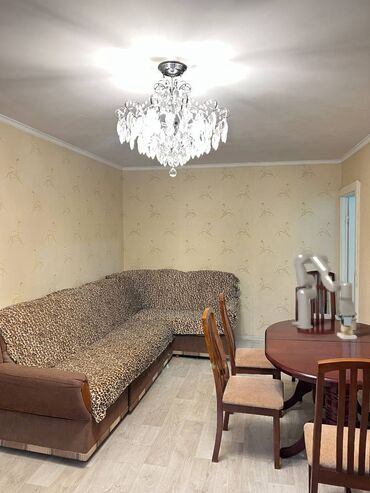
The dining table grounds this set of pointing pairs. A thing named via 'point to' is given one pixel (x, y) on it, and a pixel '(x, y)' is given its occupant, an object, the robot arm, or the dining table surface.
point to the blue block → (347, 321)
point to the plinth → (347, 336)
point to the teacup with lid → (353, 323)
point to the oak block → (346, 330)
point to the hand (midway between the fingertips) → (346, 324)
